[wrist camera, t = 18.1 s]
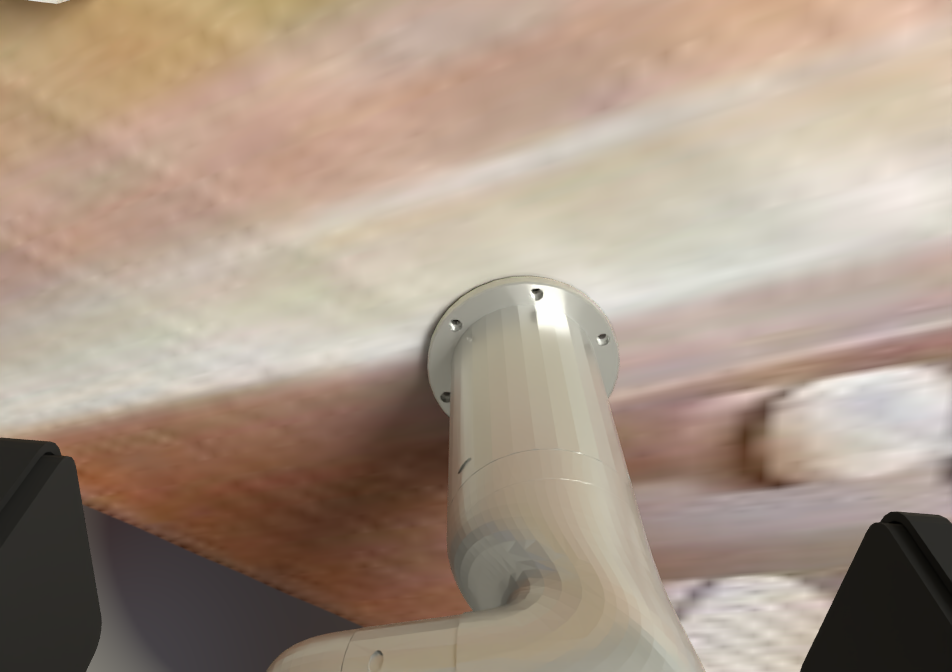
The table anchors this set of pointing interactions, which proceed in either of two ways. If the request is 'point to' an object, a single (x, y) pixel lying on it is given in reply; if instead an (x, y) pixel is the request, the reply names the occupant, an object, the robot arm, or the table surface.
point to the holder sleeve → (50, 1)
